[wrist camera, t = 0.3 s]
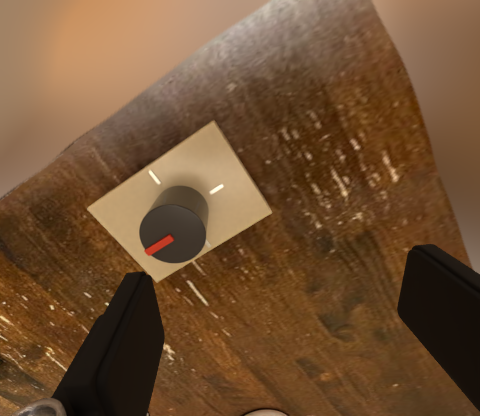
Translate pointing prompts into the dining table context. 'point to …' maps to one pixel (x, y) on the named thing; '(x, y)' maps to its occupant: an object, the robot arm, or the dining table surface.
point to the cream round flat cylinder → (266, 413)
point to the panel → (191, 175)
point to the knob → (175, 225)
